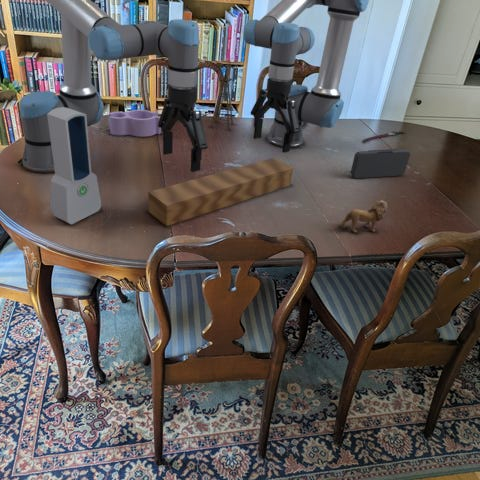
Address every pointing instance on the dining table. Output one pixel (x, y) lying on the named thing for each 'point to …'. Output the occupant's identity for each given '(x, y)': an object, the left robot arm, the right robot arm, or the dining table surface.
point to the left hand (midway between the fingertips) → (181, 161)
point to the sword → (382, 136)
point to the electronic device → (71, 167)
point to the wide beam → (218, 190)
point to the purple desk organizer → (134, 123)
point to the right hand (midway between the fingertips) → (271, 144)
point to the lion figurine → (366, 215)
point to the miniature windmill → (224, 79)
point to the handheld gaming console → (380, 163)
